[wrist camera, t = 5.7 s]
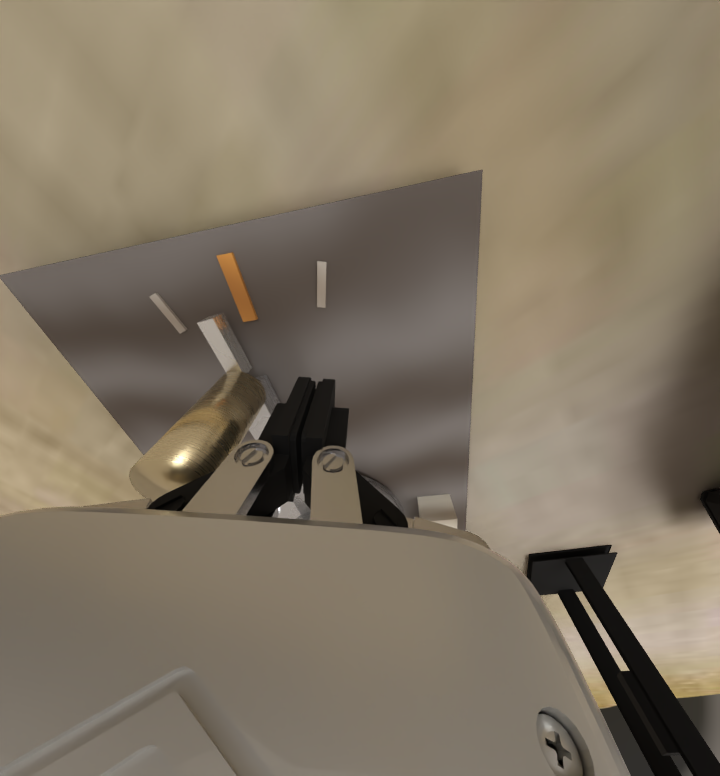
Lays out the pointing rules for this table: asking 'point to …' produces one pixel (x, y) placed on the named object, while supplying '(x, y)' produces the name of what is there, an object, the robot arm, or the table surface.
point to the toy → (712, 505)
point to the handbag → (629, 688)
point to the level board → (296, 325)
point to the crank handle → (217, 426)
